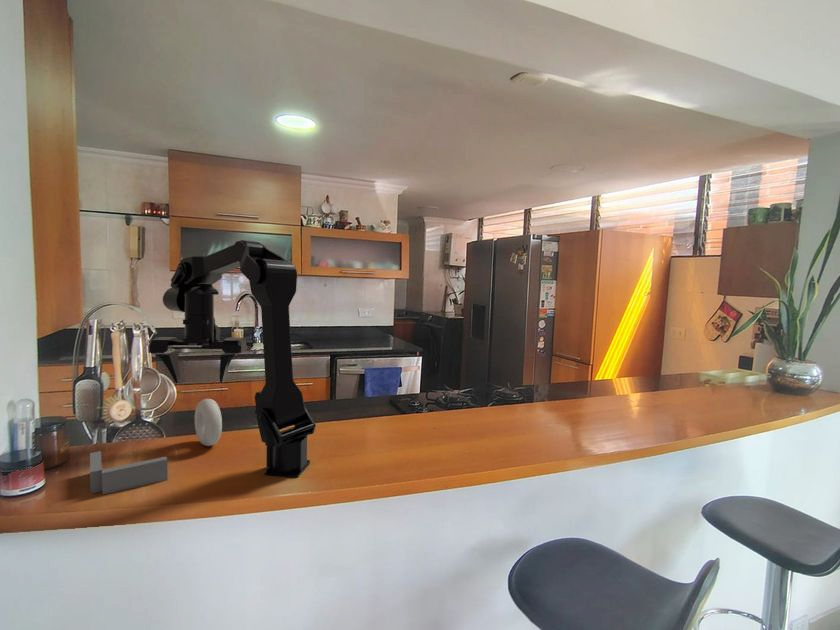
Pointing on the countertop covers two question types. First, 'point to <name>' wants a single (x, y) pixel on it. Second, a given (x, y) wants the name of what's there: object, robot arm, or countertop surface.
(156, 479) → the grey l-shaped bracket
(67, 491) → the countertop surface
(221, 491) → the countertop surface
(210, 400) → the donut
